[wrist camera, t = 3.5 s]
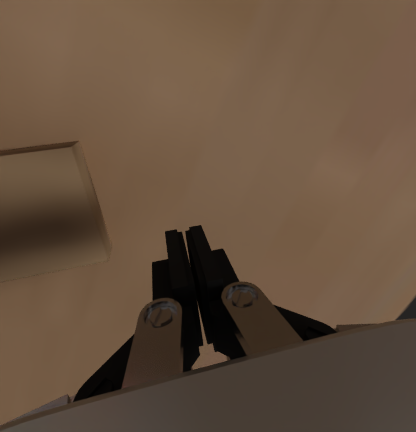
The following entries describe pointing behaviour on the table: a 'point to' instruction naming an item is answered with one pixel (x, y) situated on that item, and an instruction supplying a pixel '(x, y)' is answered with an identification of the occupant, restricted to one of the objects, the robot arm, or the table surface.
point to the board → (48, 212)
